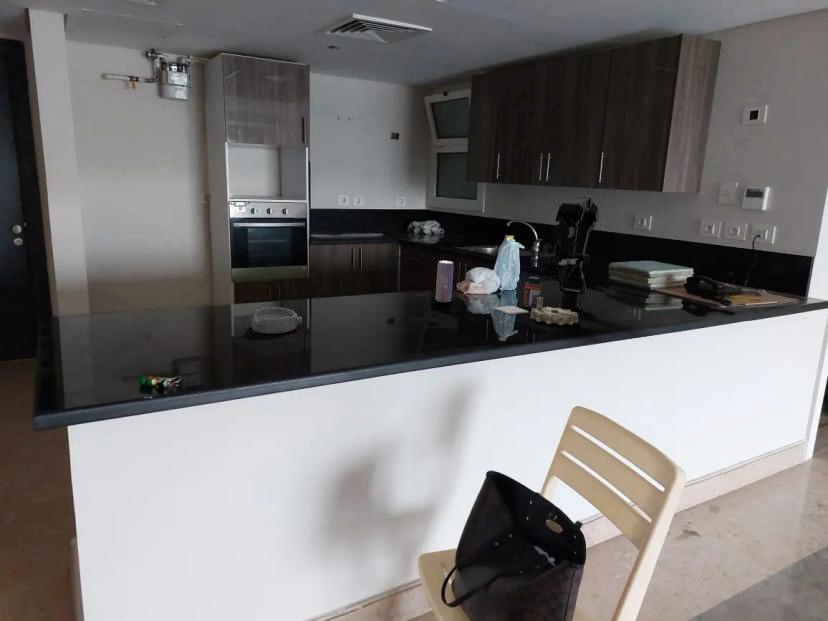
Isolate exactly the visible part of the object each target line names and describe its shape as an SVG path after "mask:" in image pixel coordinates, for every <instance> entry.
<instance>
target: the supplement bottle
mask: <svg viewBox="0 0 828 621" xmlns="http://www.w3.org/2000/svg"><path fill="white" fill-rule="evenodd" d="M540 279H541V278H540V277H538V276H529V277H528V281H527V282H526V283H525V284H524V285H525V286H524V295H523V306H524V307H525V308H526V309H527V308H528V309H532V308H534V309H536V307H537V298H538V297H541V293H542V284H541V283H540Z"/></svg>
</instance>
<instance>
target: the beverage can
mask: <svg viewBox="0 0 828 621" xmlns="http://www.w3.org/2000/svg"><path fill="white" fill-rule="evenodd" d="M453 278H454V262H453V261H450V260H439V261H438V263H437V271H436V286H435V300H436V302H439V303H450V302H451V301H452V295H453V294H452V292H453V280H454V279H453Z"/></svg>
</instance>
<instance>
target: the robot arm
mask: <svg viewBox="0 0 828 621" xmlns="http://www.w3.org/2000/svg"><path fill="white" fill-rule="evenodd" d="M599 211H600V210H599V207H598V206H597V205H596V204H595V203H594V202H593V198H591V197H585V196H579V197H577V199H575V200H573V201H572V202H571V201H562V202H561V204H560V205H559V207H558V209H557V214H556V216H555V220H554V221H555V222H556V223H558V224H556V225H555V226H554V227H553V229H552V231H551V234H552V236H553V239H554V240H556V242H555V244H554V245H551V244H550V243H545V244H543V247H542V254H541V255H540V257H539V263H543V264H546V265H550V266H554V267H555V269H556V271H557V273H558V277H559V278H558V279H559V292H562V296H561V298H560V299H561V300H560V304H558V308H561V309H564V310H572V311H575V310H582V309H583V308H582V306H580V304H581V295H585V294H586V282H585V275H584V272H583V270H582V267H583V264H591V256H590V255H589V254H586V253H585V252H586V249H587V244H588V240H589V235H590V233H591V232H592V231H593V230H594V229H595V228H596V224H597V222H598V221H599V219H600V212H599Z"/></svg>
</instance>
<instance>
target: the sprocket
mask: <svg viewBox="0 0 828 621" xmlns="http://www.w3.org/2000/svg"><path fill="white" fill-rule="evenodd" d="M543 305H544V297H541V296H540V297H538V298H537V307H536V308H530V310H531V311H530V318H531V319H533V320H535V322H538V323H539V322H543V323H546V324H547V325H552V324H555V325H559V326H563V325H569V326H573V325H574V323H575V324H577V323H578V321H579V313H577V312H576V311H573V310H568V309H565V308H562V307H556V308H555V307H550V306H545V307H543Z"/></svg>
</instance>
